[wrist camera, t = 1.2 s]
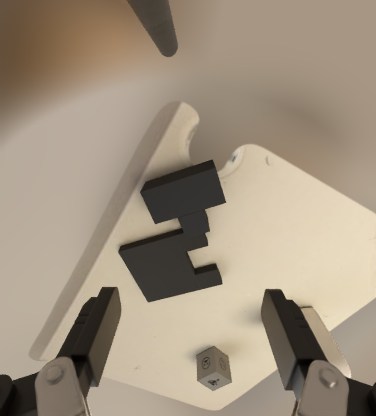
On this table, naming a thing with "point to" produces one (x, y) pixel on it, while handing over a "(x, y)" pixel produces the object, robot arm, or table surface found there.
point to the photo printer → (326, 341)
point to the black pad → (168, 265)
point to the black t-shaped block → (185, 197)
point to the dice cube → (213, 369)
